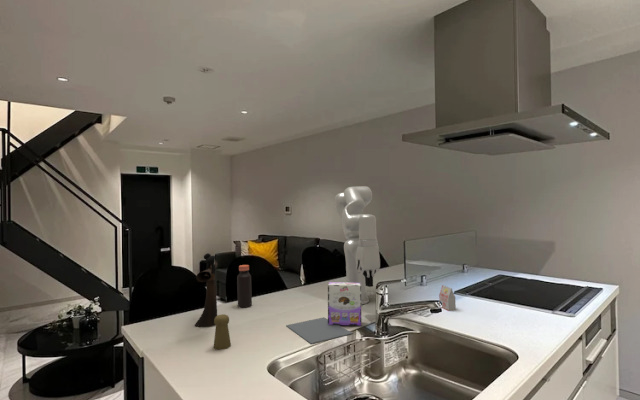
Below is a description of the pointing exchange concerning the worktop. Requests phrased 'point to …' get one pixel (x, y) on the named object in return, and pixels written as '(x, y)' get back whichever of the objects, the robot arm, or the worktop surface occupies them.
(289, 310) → the worktop surface
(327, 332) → the mat
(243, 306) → the bottle
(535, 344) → the worktop surface
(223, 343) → the olive game pawn
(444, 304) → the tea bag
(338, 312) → the candy box
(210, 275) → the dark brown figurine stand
